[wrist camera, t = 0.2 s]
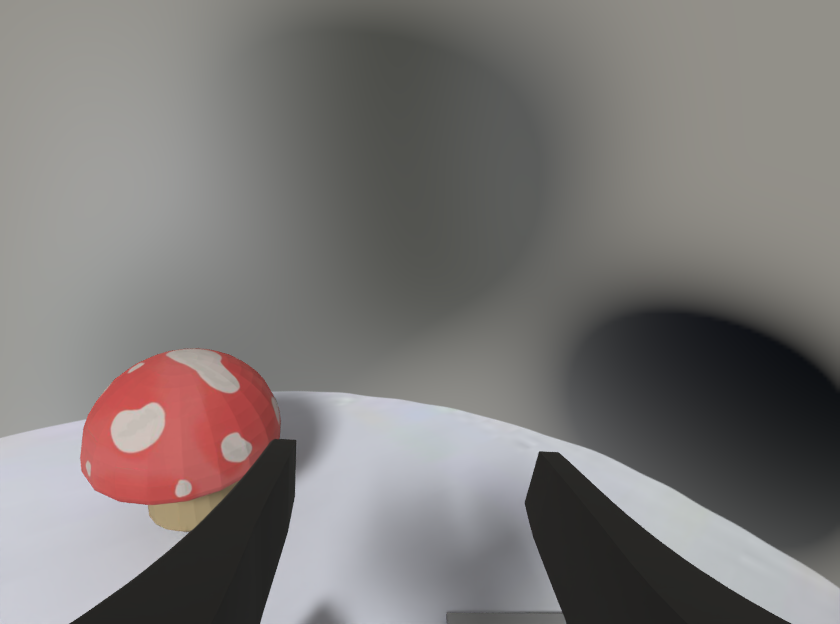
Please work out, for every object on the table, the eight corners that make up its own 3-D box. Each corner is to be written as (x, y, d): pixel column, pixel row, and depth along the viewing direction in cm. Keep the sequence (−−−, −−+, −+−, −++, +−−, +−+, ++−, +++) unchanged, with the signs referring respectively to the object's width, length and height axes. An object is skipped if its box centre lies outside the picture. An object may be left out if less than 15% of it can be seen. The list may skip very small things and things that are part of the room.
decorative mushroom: (315, 503, 39) (317, 352, 34) (170, 634, 28) (139, 439, 22) (217, 446, 45) (205, 310, 39) (64, 535, 34) (20, 362, 28)
